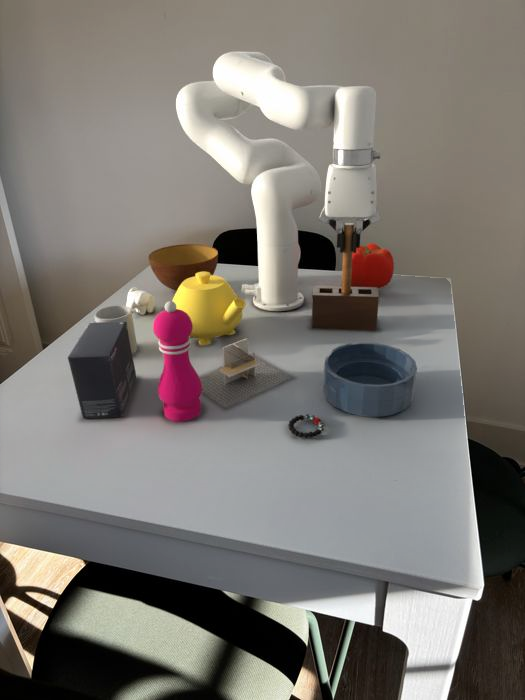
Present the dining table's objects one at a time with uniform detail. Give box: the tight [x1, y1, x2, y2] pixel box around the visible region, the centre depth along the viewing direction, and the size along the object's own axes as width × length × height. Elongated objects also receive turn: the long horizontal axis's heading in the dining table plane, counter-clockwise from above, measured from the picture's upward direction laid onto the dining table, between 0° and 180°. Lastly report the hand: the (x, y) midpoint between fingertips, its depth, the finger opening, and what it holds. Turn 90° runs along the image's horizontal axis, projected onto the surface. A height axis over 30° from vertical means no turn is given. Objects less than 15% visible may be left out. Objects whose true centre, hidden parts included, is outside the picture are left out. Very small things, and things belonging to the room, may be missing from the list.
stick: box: [340, 222, 355, 294], centre depth 110 cm, size 2×2×18 cm
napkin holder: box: [218, 337, 260, 384], centre depth 94 cm, size 3×7×7 cm, turn 129°
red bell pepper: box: [351, 243, 395, 290], centre depth 135 cm, size 14×13×10 cm
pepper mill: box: [152, 300, 203, 423], centre depth 83 cm, size 7×7×20 cm
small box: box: [67, 321, 137, 419], centre depth 90 cm, size 13×7×12 cm, turn 1°
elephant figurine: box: [125, 286, 156, 316], centre depth 124 cm, size 7×8×6 cm
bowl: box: [148, 243, 219, 293], centre depth 136 cm, size 18×18×10 cm
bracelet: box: [288, 413, 325, 439], centre depth 82 cm, size 6×6×1 cm
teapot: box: [172, 271, 246, 346], centre depth 110 cm, size 20×16×14 cm
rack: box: [311, 285, 380, 332], centre depth 115 cm, size 6×14×8 cm, turn 82°
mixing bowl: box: [323, 341, 418, 418], centre depth 89 cm, size 15×15×6 cm
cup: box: [85, 304, 138, 356], centre depth 105 cm, size 7×10×9 cm
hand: (347, 250), depth 109 cm, fingers closed on stick, 2 cm apart
